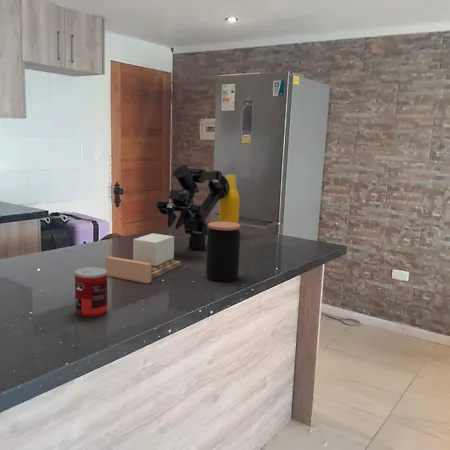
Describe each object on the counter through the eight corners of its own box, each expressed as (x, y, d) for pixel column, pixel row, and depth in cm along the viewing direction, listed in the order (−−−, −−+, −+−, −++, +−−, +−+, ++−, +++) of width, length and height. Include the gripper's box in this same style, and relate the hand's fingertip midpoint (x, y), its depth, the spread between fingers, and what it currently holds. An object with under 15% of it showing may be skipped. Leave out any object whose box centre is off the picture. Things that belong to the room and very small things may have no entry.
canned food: (79, 306, 124) (78, 266, 121) (109, 306, 124) (109, 267, 122) (72, 317, 116) (71, 275, 114) (104, 317, 117) (104, 275, 115)
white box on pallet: (152, 254, 169) (152, 233, 168) (173, 258, 166) (174, 236, 164) (133, 262, 158) (133, 239, 157) (155, 266, 155) (156, 242, 153)
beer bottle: (219, 236, 219) (222, 174, 216) (238, 237, 217) (242, 175, 215) (216, 238, 209) (219, 173, 207) (236, 239, 208) (240, 174, 206)
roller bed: (148, 260, 172) (148, 253, 171) (180, 265, 166) (180, 258, 166) (113, 274, 153) (113, 267, 152) (148, 280, 147) (148, 273, 147)
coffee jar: (242, 275, 158) (244, 223, 154) (232, 284, 148) (234, 228, 144) (212, 271, 161) (214, 220, 158) (201, 279, 151) (203, 225, 148)
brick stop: (109, 273, 153) (109, 256, 152) (151, 281, 147) (151, 263, 146) (105, 275, 151) (105, 257, 150) (147, 283, 145) (147, 264, 144)
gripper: (158, 179, 177) (142, 212, 169) (202, 183, 169) (187, 218, 162) (168, 197, 185) (153, 229, 178) (210, 201, 178) (197, 235, 171)
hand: (172, 227), depth 172 cm, fingers open, 3 cm apart
